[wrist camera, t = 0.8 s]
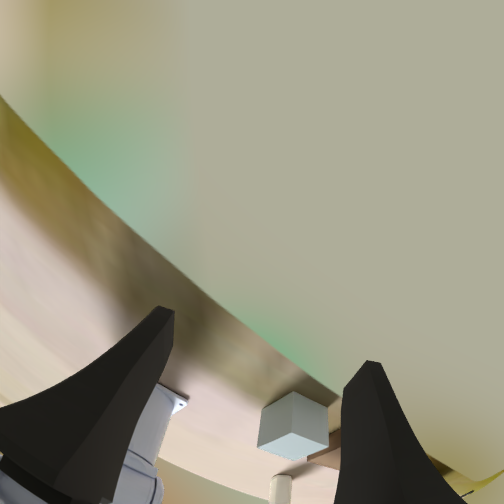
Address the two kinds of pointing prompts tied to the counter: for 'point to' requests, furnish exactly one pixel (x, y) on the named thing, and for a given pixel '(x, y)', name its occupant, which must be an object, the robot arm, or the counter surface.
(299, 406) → the grey cube
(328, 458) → the walnut block
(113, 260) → the counter surface
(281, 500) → the eye dropper bottle
